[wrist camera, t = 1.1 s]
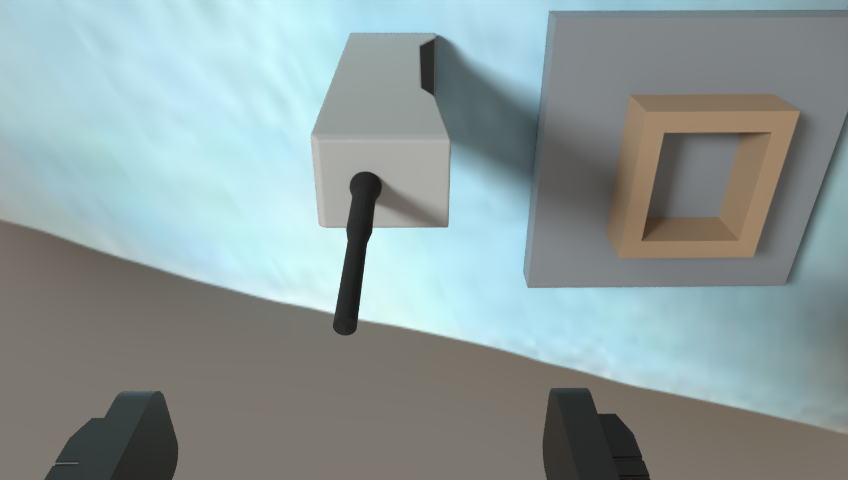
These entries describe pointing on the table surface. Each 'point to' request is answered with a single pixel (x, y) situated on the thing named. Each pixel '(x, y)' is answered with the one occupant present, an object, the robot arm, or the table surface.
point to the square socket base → (682, 145)
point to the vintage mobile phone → (380, 150)
